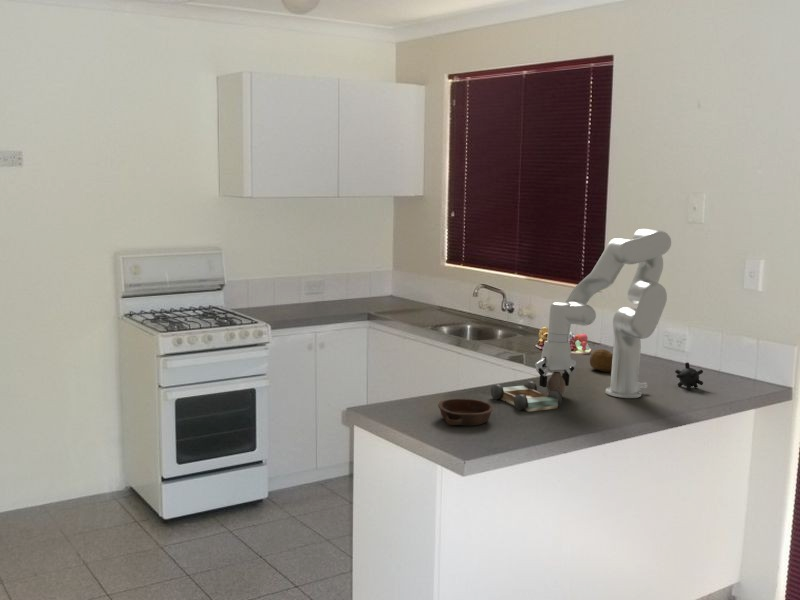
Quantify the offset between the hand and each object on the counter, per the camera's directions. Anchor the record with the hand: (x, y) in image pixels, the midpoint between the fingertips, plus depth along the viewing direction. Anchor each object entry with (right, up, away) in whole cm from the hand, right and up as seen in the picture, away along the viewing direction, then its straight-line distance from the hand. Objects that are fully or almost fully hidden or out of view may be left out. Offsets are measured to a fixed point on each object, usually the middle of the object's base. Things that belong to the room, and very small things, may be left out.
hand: (553, 385), depth 306 cm
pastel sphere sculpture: (+19, +8, +87) cm, 90 cm away
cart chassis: (-11, -5, -9) cm, 15 cm away
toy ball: (+54, -3, +21) cm, 58 cm away
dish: (-34, -8, -33) cm, 48 cm away
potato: (+28, +1, +44) cm, 52 cm away
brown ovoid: (+1, -4, +1) cm, 4 cm away
